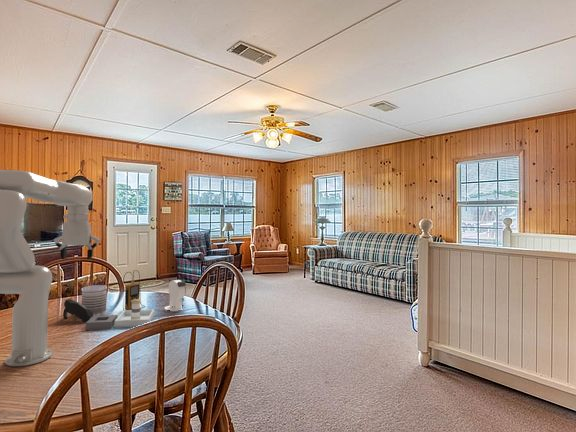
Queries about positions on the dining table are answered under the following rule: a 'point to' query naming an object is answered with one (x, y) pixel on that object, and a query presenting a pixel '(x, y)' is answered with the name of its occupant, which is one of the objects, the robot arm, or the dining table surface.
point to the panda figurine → (176, 294)
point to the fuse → (135, 309)
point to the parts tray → (126, 321)
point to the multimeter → (132, 292)
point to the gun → (76, 310)
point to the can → (94, 298)
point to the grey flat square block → (101, 322)
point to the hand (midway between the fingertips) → (76, 258)
